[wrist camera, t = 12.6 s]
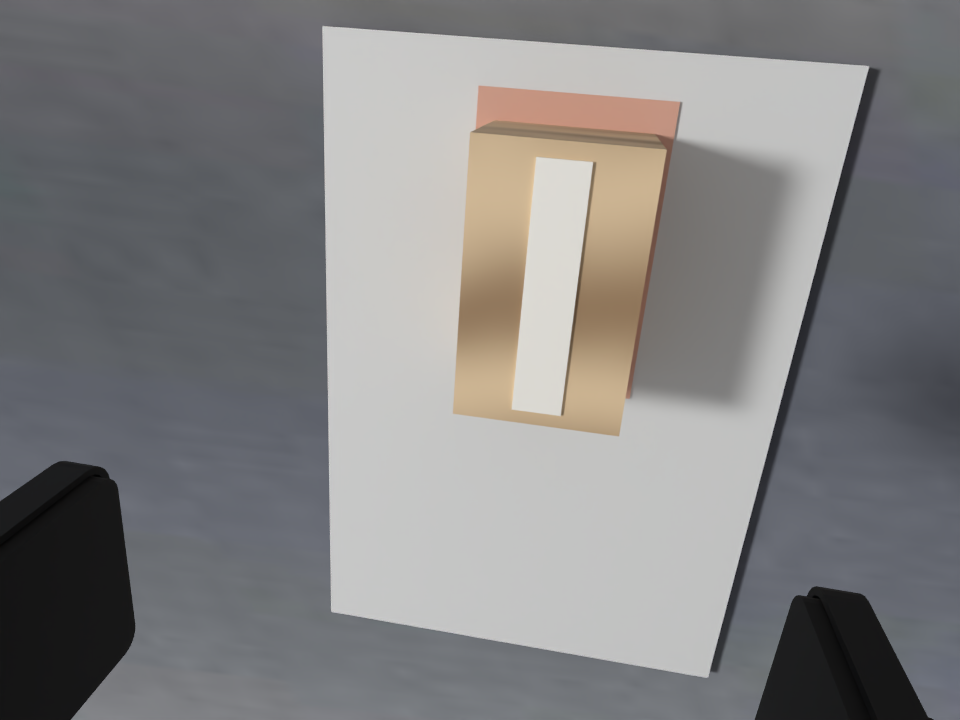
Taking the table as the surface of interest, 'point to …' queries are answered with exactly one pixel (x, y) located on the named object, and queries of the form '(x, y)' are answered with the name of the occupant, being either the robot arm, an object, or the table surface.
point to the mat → (656, 356)
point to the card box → (553, 272)
